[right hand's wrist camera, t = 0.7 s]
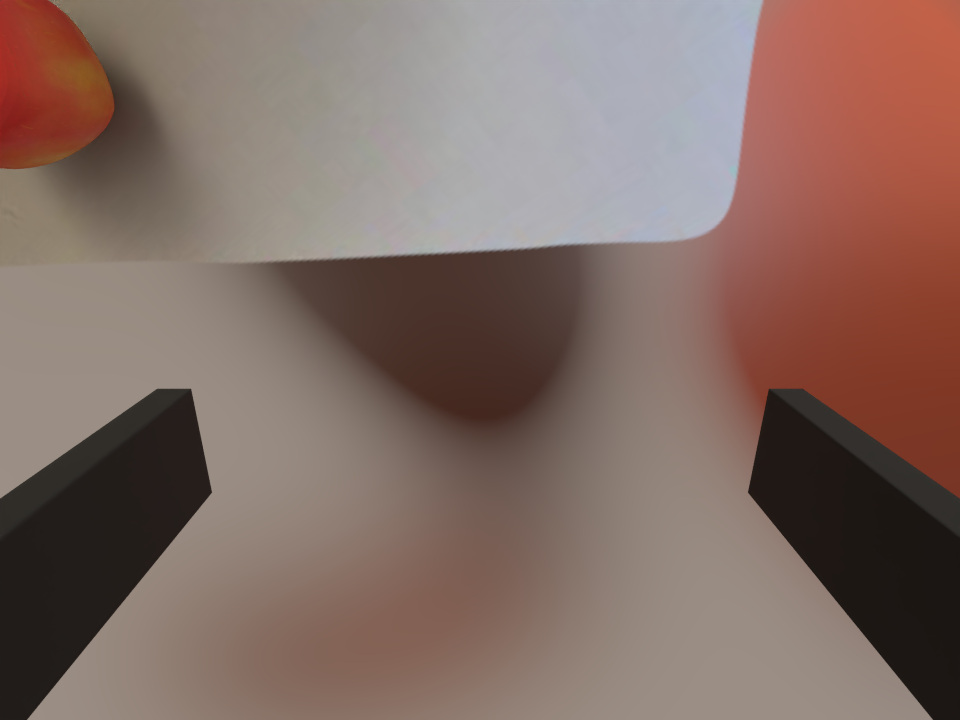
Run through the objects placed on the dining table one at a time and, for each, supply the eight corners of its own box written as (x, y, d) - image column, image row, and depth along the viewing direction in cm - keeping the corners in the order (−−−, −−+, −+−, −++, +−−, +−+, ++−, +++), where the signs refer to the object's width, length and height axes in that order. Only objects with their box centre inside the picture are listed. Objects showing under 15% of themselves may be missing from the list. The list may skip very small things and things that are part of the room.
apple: (136, 5, 32) (-5, -62, 23) (160, 172, 36) (46, 173, 26) (-26, -2, 32) (-234, -73, 23) (14, 166, 35) (-155, 165, 26)
